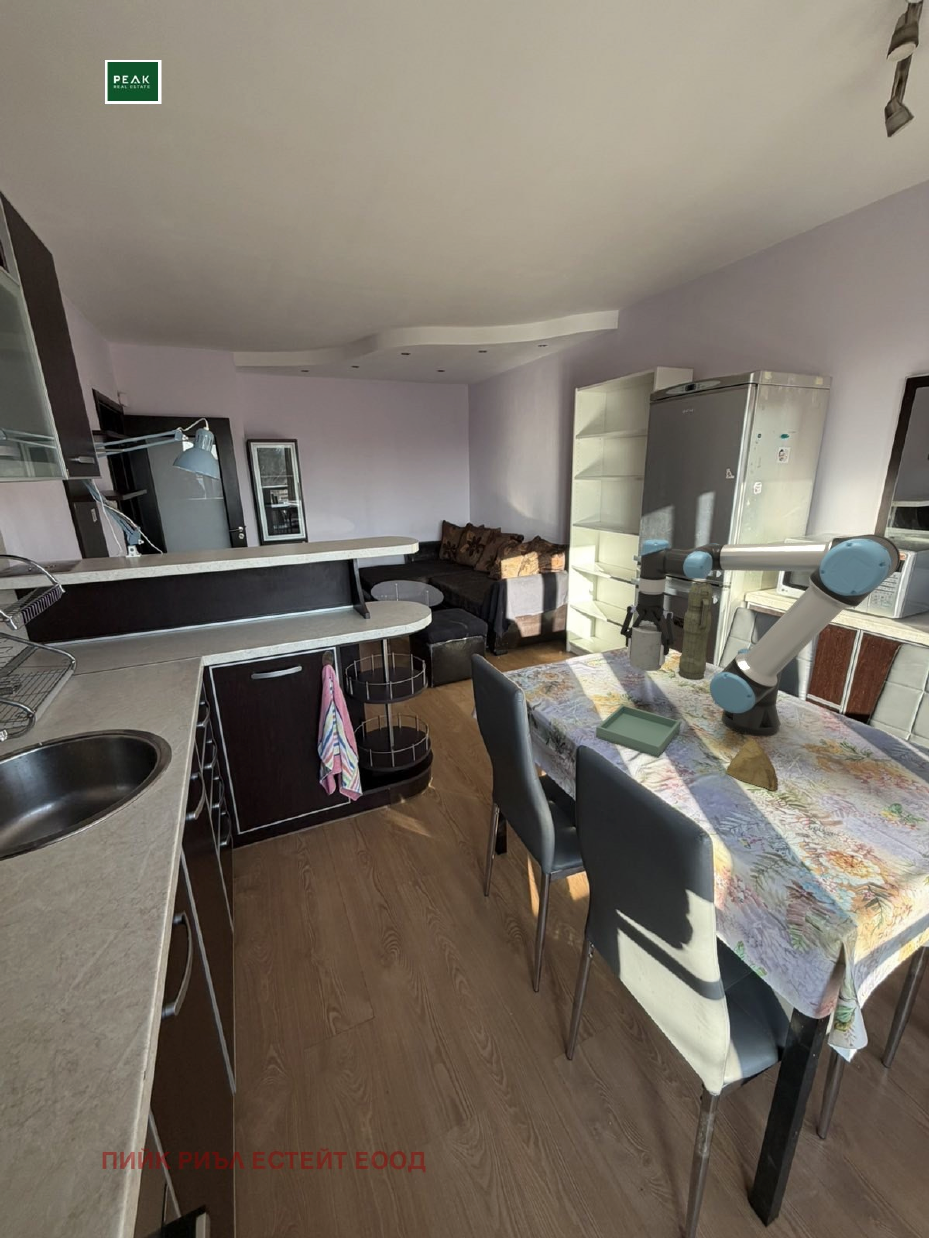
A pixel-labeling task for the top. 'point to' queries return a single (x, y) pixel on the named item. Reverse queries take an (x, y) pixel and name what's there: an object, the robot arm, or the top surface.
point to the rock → (753, 766)
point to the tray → (638, 730)
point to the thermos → (696, 631)
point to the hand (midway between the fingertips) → (645, 660)
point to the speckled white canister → (645, 648)
